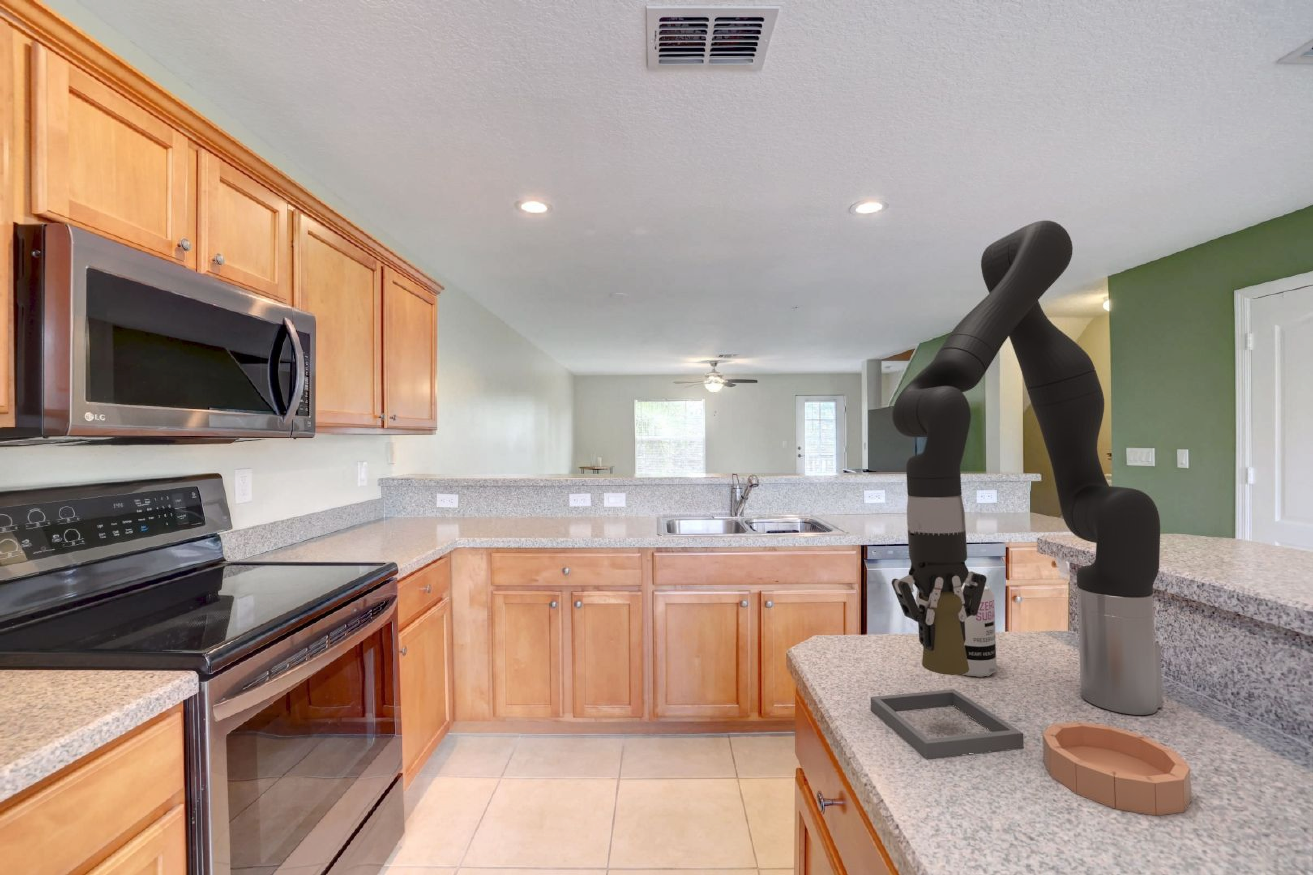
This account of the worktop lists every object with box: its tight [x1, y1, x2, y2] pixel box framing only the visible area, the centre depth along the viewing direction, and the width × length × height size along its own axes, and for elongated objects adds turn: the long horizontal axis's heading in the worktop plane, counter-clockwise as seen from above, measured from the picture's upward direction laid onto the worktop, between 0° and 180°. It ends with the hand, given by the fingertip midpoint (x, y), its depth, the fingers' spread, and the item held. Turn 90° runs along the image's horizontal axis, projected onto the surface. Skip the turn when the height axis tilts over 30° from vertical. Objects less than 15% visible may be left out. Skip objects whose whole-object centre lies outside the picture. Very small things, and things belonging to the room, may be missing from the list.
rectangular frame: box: [870, 688, 1025, 760], centre depth 82 cm, size 14×14×2 cm
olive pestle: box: [921, 592, 969, 676], centre depth 82 cm, size 6×6×11 cm
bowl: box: [1042, 721, 1192, 817], centre depth 69 cm, size 13×13×4 cm
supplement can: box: [961, 583, 998, 678], centre depth 102 cm, size 8×8×15 cm
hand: (942, 646), depth 82 cm, fingers closed on olive pestle, 3 cm apart
